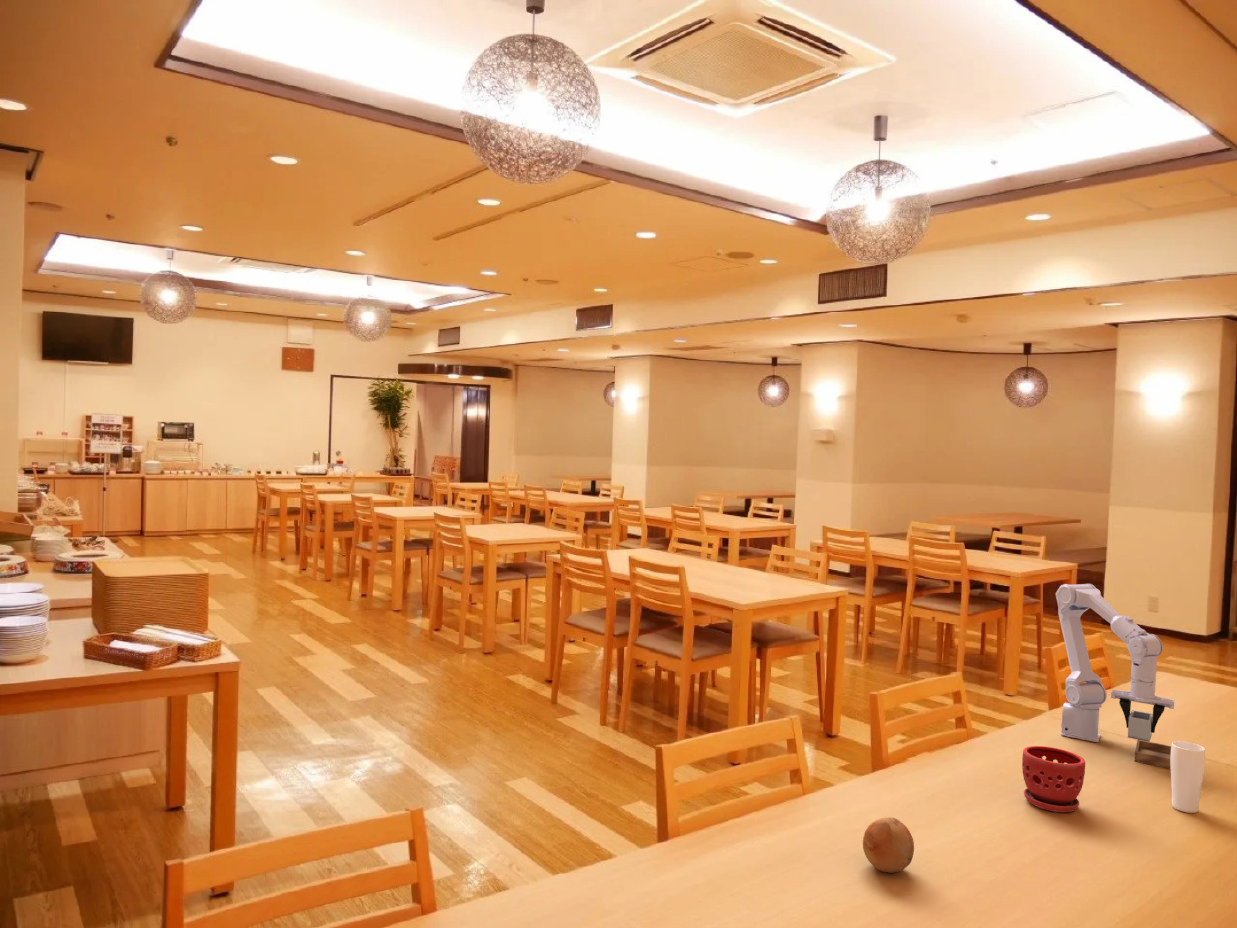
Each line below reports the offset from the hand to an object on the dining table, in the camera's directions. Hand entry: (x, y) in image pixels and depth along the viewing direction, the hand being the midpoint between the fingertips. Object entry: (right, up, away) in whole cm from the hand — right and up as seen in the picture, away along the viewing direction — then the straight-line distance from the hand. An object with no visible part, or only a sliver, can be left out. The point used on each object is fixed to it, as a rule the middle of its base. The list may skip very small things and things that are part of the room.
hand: (1140, 729), depth 231 cm
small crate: (0, -2, 0) cm, 2 cm away
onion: (-88, -8, -64) cm, 109 cm away
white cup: (-8, -9, -31) cm, 33 cm away
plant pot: (-39, -8, -30) cm, 50 cm away
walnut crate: (+5, -9, +2) cm, 10 cm away
